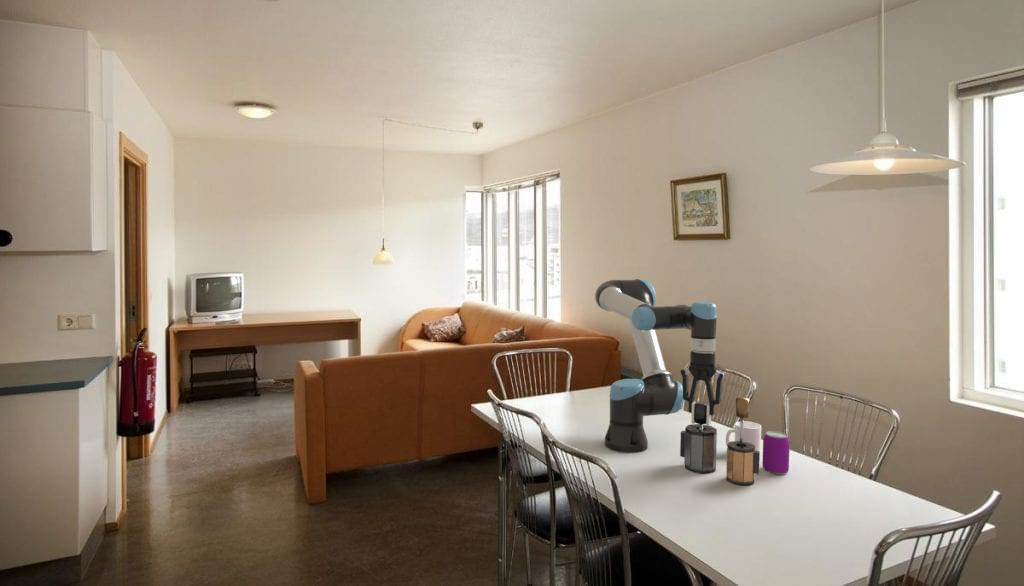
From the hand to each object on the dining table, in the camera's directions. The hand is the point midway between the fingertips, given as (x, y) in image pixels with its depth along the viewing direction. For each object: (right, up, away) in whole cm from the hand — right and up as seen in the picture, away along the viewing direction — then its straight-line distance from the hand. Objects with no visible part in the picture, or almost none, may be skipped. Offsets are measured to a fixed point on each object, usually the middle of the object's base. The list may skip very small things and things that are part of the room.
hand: (701, 423), depth 190 cm
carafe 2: (+9, -15, -9) cm, 20 cm away
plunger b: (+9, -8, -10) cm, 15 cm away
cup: (+19, -14, +14) cm, 27 cm away
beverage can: (+23, -15, -1) cm, 28 cm away
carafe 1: (0, -15, +1) cm, 15 cm away
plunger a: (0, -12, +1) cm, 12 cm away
